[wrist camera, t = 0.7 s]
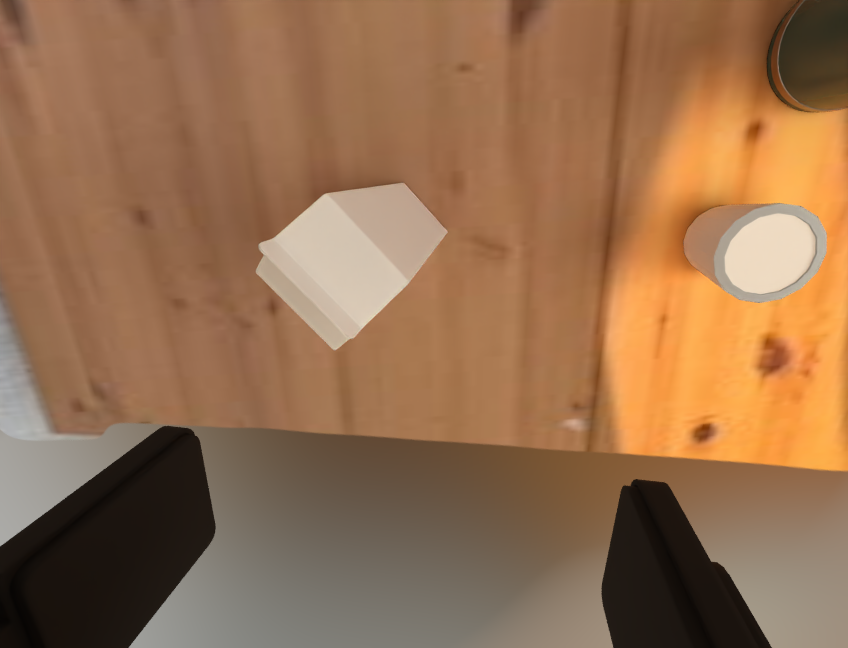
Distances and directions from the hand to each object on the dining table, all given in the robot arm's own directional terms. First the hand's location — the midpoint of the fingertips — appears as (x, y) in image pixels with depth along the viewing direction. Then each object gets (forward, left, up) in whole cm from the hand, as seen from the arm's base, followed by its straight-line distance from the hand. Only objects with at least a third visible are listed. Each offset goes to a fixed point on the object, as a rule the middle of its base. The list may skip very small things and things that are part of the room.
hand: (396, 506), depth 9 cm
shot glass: (+12, +17, -32) cm, 38 cm away
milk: (-5, -4, -32) cm, 33 cm away
